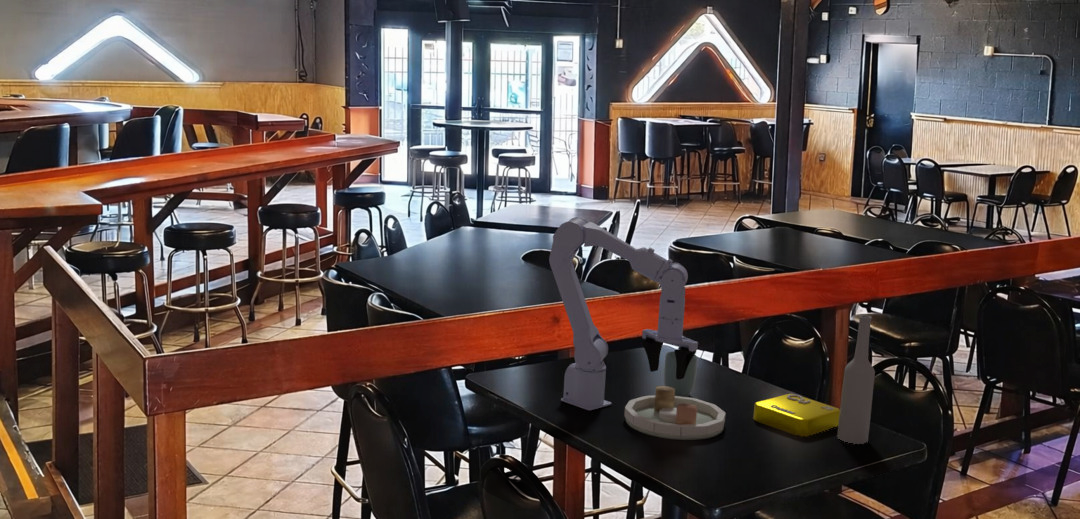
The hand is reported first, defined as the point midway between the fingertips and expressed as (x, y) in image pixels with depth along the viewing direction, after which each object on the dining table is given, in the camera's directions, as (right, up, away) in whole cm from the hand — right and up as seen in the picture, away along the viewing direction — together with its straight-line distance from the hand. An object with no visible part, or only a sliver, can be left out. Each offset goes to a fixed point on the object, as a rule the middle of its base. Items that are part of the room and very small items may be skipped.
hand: (666, 374), depth 241 cm
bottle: (+40, -14, -9) cm, 43 cm away
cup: (+5, -7, +17) cm, 19 cm away
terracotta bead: (+3, -11, -11) cm, 15 cm away
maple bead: (-1, -8, +1) cm, 8 cm away
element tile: (+30, -12, +1) cm, 32 cm away
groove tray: (+1, -10, -4) cm, 11 cm away
